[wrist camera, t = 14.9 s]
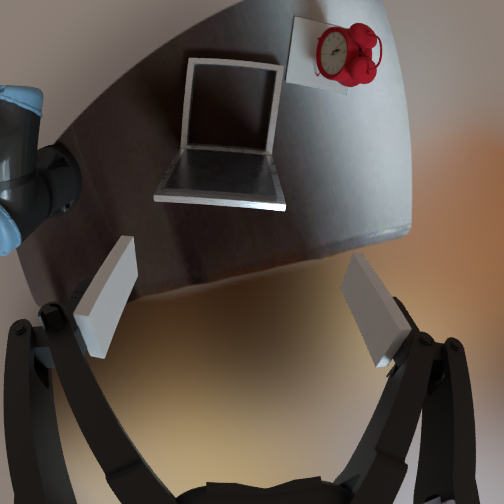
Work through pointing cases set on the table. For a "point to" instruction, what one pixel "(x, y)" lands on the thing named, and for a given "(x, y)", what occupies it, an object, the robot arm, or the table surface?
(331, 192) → the table surface
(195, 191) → the lid
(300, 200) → the table surface
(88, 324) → the robot arm
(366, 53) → the alarm clock
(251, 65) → the case
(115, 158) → the table surface
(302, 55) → the mat
